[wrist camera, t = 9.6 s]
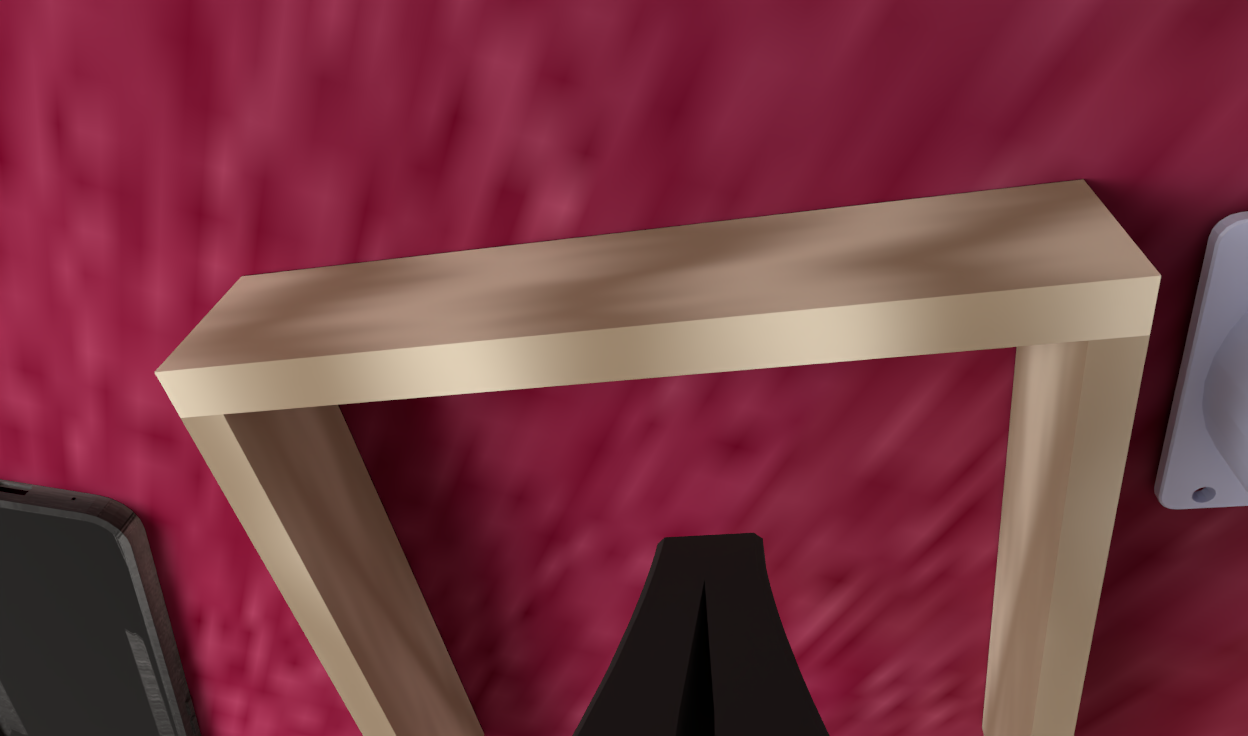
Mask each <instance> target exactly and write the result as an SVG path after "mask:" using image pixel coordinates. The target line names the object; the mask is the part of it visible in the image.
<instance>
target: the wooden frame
mask: <svg viewBox="0 0 1248 736" xmlns="http://www.w3.org/2000/svg"><path fill="white" fill-rule="evenodd" d="M1160 279H1161V275H1160V273H1159V272H1158V271H1157V270H1156V268H1155V267H1154V266H1153V265H1152V263H1151V262H1150V261H1149V260H1148V259H1147V257H1146V256H1145V255H1144V254H1143V252H1142V251H1141V250H1140V249H1139V247H1138V246H1137V245H1136V244H1135V243H1134V241H1133V240H1132V239H1131V238H1130V236H1129V235H1128V234H1127V233H1126V231H1125V230H1124V229H1123V228H1122V226H1121V225H1120V224H1119V223H1118V222H1117V220H1116V219H1115V218H1114V217H1113V215H1112V214H1111V213H1110V212H1109V210H1108V209H1107V208H1106V207H1105V205H1104V204H1103V203H1102V202H1101V201H1100V199H1099V198H1098V197H1097V196H1096V194H1095V193H1094V192H1093V191H1092V189H1091V188H1090V187H1089V186H1088V184H1087V183H1086V182H1085V181H1084V180H1083V179H1082V180H1074V181H1065V182H1056V183H1048V184H1039V185H1030V186H1022V187H1013V188H1004V189H996V190H987V191H978V192H970V193H961V194H952V195H944V196H935V197H926V198H918V199H909V200H900V201H892V202H883V203H874V204H866V205H857V206H848V207H840V208H831V209H822V210H814V211H805V212H796V213H788V214H779V215H770V216H762V217H753V218H744V219H736V220H727V221H718V222H710V223H701V224H692V225H684V226H675V227H666V228H658V229H649V230H640V231H632V232H623V233H614V234H606V235H597V236H588V237H580V238H571V239H562V240H554V241H545V242H536V243H528V244H519V245H510V246H502V247H493V248H484V249H475V250H467V251H458V252H449V253H441V254H432V255H423V256H415V257H406V258H397V259H389V260H380V261H371V262H363V263H354V264H345V265H337V266H328V267H319V268H311V269H302V270H293V271H285V272H276V273H267V274H259V275H250V276H241V277H240V279H239V280H238V281H237V282H236V283H235V284H234V285H233V286H232V287H231V289H230V290H229V291H228V292H227V293H226V294H225V295H224V296H223V297H222V298H221V300H220V301H219V302H218V303H217V304H216V305H215V306H214V307H213V308H212V309H211V311H210V312H209V313H208V314H207V315H206V316H205V317H204V318H203V319H202V320H201V322H200V323H199V324H198V325H197V326H196V327H195V328H194V329H193V330H192V331H191V333H190V334H189V335H188V336H187V337H186V338H185V339H184V340H183V341H182V342H181V344H180V345H179V346H178V347H177V348H176V349H175V350H174V351H173V352H172V353H171V355H170V356H169V357H168V358H167V359H166V360H165V361H164V362H163V363H162V364H161V366H160V367H159V368H158V369H157V370H156V371H155V374H156V376H157V378H158V379H159V381H160V383H161V385H162V386H163V388H164V390H165V392H166V393H167V395H168V397H169V399H170V400H171V402H172V404H173V405H174V407H175V409H176V411H177V412H178V414H179V416H180V418H181V419H182V421H183V423H184V425H185V426H186V428H187V430H188V432H189V433H190V435H191V437H192V439H193V440H194V442H195V444H196V445H197V447H198V449H199V451H200V452H201V454H202V456H203V458H204V459H205V461H206V463H207V465H208V466H209V468H210V470H211V472H212V473H213V475H214V477H215V479H216V480H217V482H218V484H219V486H220V487H221V489H222V491H223V492H224V494H225V496H226V498H227V499H228V501H229V503H230V505H231V506H232V508H233V510H234V512H235V513H236V515H237V517H238V519H239V520H240V522H241V524H242V526H243V527H244V529H245V531H246V533H247V534H248V536H249V538H250V539H251V541H252V543H253V545H254V546H255V548H256V550H257V552H258V553H259V555H260V557H261V559H262V560H263V562H264V564H265V566H266V567H267V569H268V571H269V573H270V574H271V576H272V578H273V579H274V581H275V583H276V585H277V586H278V588H279V590H280V592H281V593H282V595H283V597H284V599H285V600H286V602H287V604H288V606H289V607H290V609H291V611H292V613H293V614H294V616H295V618H296V620H297V621H298V623H299V625H300V626H301V628H302V630H303V632H304V633H305V635H306V637H307V639H308V640H309V642H310V644H311V646H312V647H313V649H314V651H315V653H316V654H317V656H318V658H319V660H320V661H321V663H322V665H323V667H324V668H325V670H326V672H327V673H328V675H329V677H330V679H331V680H332V682H333V684H334V686H335V687H336V689H337V691H338V693H339V694H340V696H341V698H342V700H343V701H344V703H345V705H346V707H347V708H348V710H349V712H350V714H351V715H352V717H353V719H354V720H355V722H356V724H357V726H358V727H359V729H360V731H361V733H362V734H363V736H484V733H483V730H482V728H481V726H480V724H479V721H478V719H477V717H476V715H475V712H474V710H473V708H472V706H471V703H470V701H469V699H468V697H467V694H466V692H465V690H464V688H463V685H462V683H461V681H460V679H459V676H458V674H457V672H456V670H455V667H454V665H453V663H452V661H451V658H450V656H449V654H448V652H447V649H446V647H445V645H444V643H443V640H442V638H441V636H440V634H439V631H438V629H437V627H436V625H435V622H434V620H433V618H432V616H431V613H430V611H429V609H428V607H427V604H426V602H425V600H424V598H423V595H422V593H421V591H420V589H419V586H418V584H417V582H416V580H415V577H414V575H413V573H412V570H411V568H410V566H409V564H408V561H407V559H406V557H405V555H404V552H403V550H402V548H401V546H400V543H399V541H398V539H397V537H396V534H395V532H394V530H393V528H392V525H391V523H390V521H389V519H388V516H387V514H386V512H385V510H384V507H383V505H382V503H381V501H380V498H379V496H378V494H377V492H376V489H375V487H374V485H373V483H372V480H371V478H370V476H369V474H368V471H367V469H366V467H365V465H364V462H363V460H362V458H361V456H360V453H359V451H358V449H357V447H356V444H355V442H354V440H353V438H352V435H351V433H350V431H349V429H348V426H347V424H346V422H345V420H344V417H343V415H342V413H341V410H340V408H339V406H338V405H339V404H350V403H362V402H374V401H386V400H397V399H409V398H421V397H432V396H444V395H456V394H468V393H479V392H491V391H503V390H514V389H526V388H538V387H550V386H561V385H573V384H585V383H596V382H608V381H620V380H632V379H643V378H655V377H667V376H678V375H690V374H702V373H713V372H725V371H737V370H749V369H760V368H772V367H784V366H795V365H807V364H819V363H831V362H842V361H854V360H866V359H877V358H889V357H901V356H913V355H924V354H936V353H948V352H959V351H971V350H983V349H995V348H1006V347H1017V349H1016V360H1015V371H1014V382H1013V393H1012V404H1011V415H1010V426H1009V437H1008V448H1007V459H1006V470H1005V481H1004V492H1003V503H1002V514H1001V525H1000V536H999V547H998V558H997V569H996V580H995V591H994V602H993V613H992V624H991V635H990V646H989V657H988V668H987V679H986V690H985V701H984V712H983V723H982V729H983V733H984V736H1074V731H1075V726H1076V721H1077V716H1078V710H1079V705H1080V700H1081V695H1082V689H1083V684H1084V679H1085V674H1086V668H1087V663H1088V658H1089V653H1090V647H1091V642H1092V637H1093V632H1094V626H1095V621H1096V616H1097V610H1098V605H1099V600H1100V595H1101V589H1102V584H1103V579H1104V574H1105V568H1106V563H1107V558H1108V553H1109V547H1110V542H1111V537H1112V532H1113V526H1114V521H1115V516H1116V511H1117V505H1118V500H1119V495H1120V490H1121V484H1122V479H1123V474H1124V469H1125V463H1126V458H1127V453H1128V447H1129V442H1130V437H1131V432H1132V426H1133V421H1134V416H1135V411H1136V405H1137V400H1138V395H1139V390H1140V384H1141V379H1142V374H1143V369H1144V363H1145V358H1146V353H1147V348H1148V342H1149V337H1150V332H1151V327H1152V321H1153V316H1154V311H1155V306H1156V300H1157V295H1158V290H1159V284H1160Z"/></svg>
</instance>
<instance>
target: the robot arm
mask: <svg viewBox="0 0 1248 736" xmlns="http://www.w3.org/2000/svg"><path fill="white" fill-rule="evenodd" d="M1203 487H1206V488H1204V489H1202V490H1200V491H1196V490H1198V489H1199V488H1203ZM1194 491H1196V492H1194ZM1154 493H1155V495H1156V497H1157V499H1158V500H1159V502H1160V503H1161V504H1162V506H1164V507H1166V508H1169V509H1195V508H1214V507H1232V506H1248V211H1246V212H1239V213H1235V214H1232V215H1229V216H1227V217H1225V218H1224V219H1222V220H1220V221H1219V222H1218V223H1217V224H1216V225H1215V226H1214V228H1213V229H1212V231H1211V233H1210V235H1209V238H1208V243H1207V247H1206V252H1205V256H1204V261H1203V266H1202V270H1201V275H1200V279H1199V284H1198V288H1197V293H1196V298H1195V302H1194V307H1193V311H1192V316H1191V321H1190V325H1189V330H1188V334H1187V339H1186V343H1185V348H1184V353H1183V357H1182V362H1181V366H1180V371H1179V375H1178V380H1177V385H1176V389H1175V394H1174V398H1173V403H1172V408H1171V412H1170V417H1169V421H1168V426H1167V430H1166V435H1165V440H1164V444H1163V449H1162V453H1161V458H1160V463H1159V467H1158V472H1157V476H1156V481H1155V485H1154ZM572 736H829V734H828V732H827V730H826V728H825V725H824V723H823V721H822V719H821V717H820V715H819V713H818V710H817V708H816V706H815V704H814V702H813V700H812V698H811V695H810V693H809V691H808V688H807V686H806V684H805V682H804V679H803V677H802V675H801V672H800V670H799V667H798V664H797V662H796V659H795V657H794V654H793V652H792V649H791V647H790V644H789V642H788V639H787V637H786V634H785V631H784V628H783V625H782V623H781V620H780V617H779V614H778V610H777V607H776V604H775V601H774V597H773V594H772V591H771V587H770V583H769V579H768V575H767V570H766V563H765V555H764V546H763V539H762V538H761V537H759V536H758V535H756V534H755V533H741V534H722V535H703V536H685V537H666V538H664V539H663V540H662V541H660V542H659V543H658V545H657V549H656V552H655V556H654V559H653V562H652V565H651V568H650V571H649V574H648V577H647V579H646V582H645V585H644V588H643V590H642V593H641V595H640V598H639V600H638V603H637V605H636V608H635V610H634V612H633V615H632V617H631V620H630V622H629V624H628V627H627V629H626V631H625V633H624V635H623V637H622V640H621V642H620V644H619V646H618V648H617V650H616V653H615V655H614V657H613V659H612V661H611V663H610V666H609V668H608V670H607V672H606V674H605V676H604V678H603V680H602V682H601V684H600V685H599V687H598V689H597V691H596V693H595V695H594V697H593V699H592V700H591V702H590V704H589V706H588V708H587V710H586V712H585V714H584V715H583V717H582V719H581V721H580V723H579V725H578V727H577V728H576V730H575V732H574V734H573V735H572Z"/></svg>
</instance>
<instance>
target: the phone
mask: <svg viewBox="0 0 1248 736" xmlns="http://www.w3.org/2000/svg"><path fill="white" fill-rule="evenodd" d="M0 487H7V488H13V489H19V490H25V491H28V492H27V493H26V495H18V494H12V493H6V492H0V736H201V733H200V729H199V726H198V722H197V718H196V715H195V711H194V707H193V703H192V700H191V696H190V693H189V689H188V685H187V682H186V678H185V674H184V671H183V667H182V663H181V660H180V656H179V652H178V649H177V645H176V641H175V638H174V634H173V630H172V627H171V623H170V619H169V616H168V612H167V608H166V605H165V601H164V597H163V594H162V590H161V586H160V583H159V579H158V575H157V572H156V568H155V564H154V561H153V557H152V553H151V550H150V546H149V542H148V539H147V535H146V531H145V528H144V526H143V524H142V522H141V520H140V519H139V518H138V516H137V515H136V514H135V513H134V512H133V511H132V510H130V509H129V508H128V507H126V506H125V505H123V504H122V503H120V502H117V501H115V500H113V499H111V498H107V497H104V496H100V495H94V494H88V493H82V492H76V491H69V490H63V489H57V488H51V487H44V486H38V485H32V484H26V483H20V482H13V481H7V480H1V479H0ZM73 497H75V498H76V499H75V500H71V499H72V498H73Z"/></svg>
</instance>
